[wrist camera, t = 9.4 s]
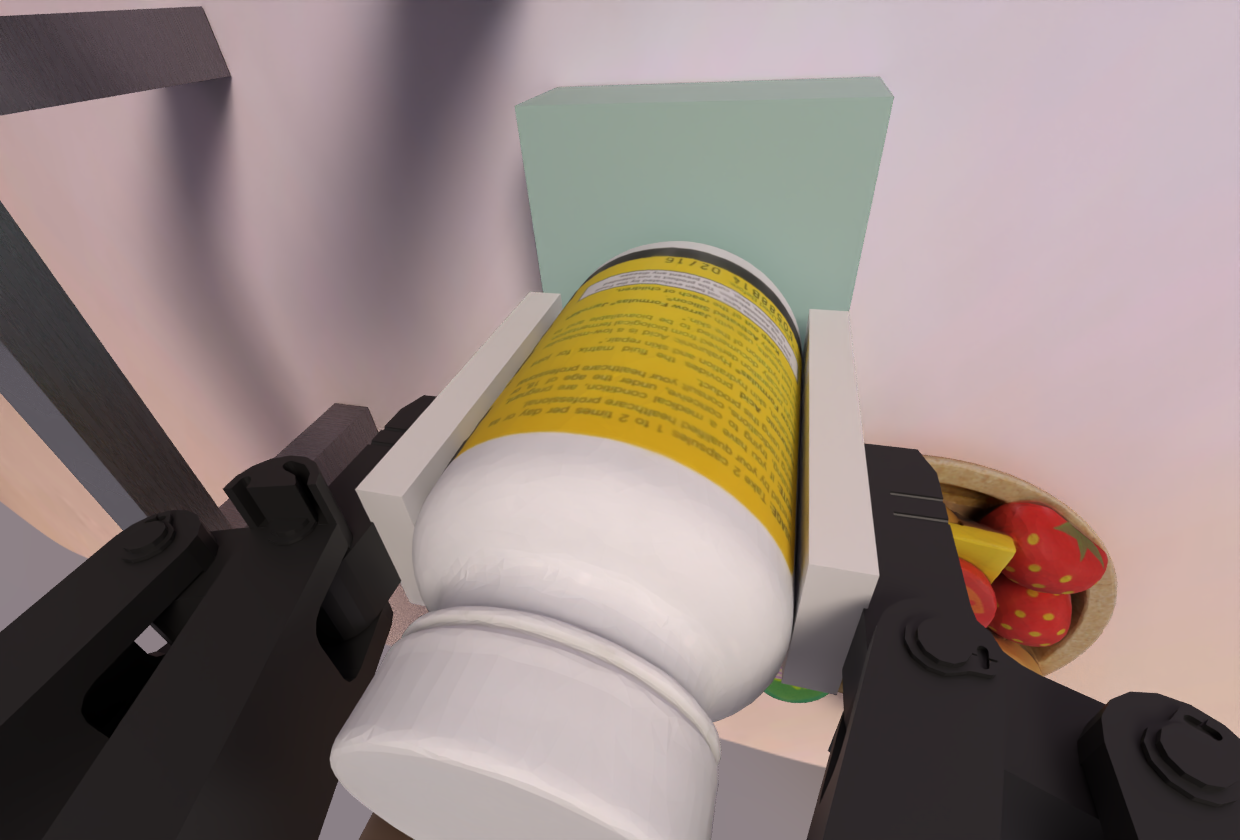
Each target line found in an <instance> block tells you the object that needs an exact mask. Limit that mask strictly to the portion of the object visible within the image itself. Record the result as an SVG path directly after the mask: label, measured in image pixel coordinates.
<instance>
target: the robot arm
mask: <svg viewBox="0 0 1240 840" xmlns="http://www.w3.org/2000/svg"><path fill="white" fill-rule="evenodd" d="M562 310H563V308H562V300H561V294H558V293H541V292H529V293H528V294H527V296H526V297H525V298H524V299H523V300H522V301H521V302H520V303H519V305H518V306H517V307H516V308H515V309H514V310H513V311H512V312H511V314H510V315H509V316H508V317H507V318H506V319H505V320H504V322H503V323H502V324H501V325H500V326H499V327H498V328H497V329H496V331H495V332H494V333H493V334H492V335H491V336H490V337H489V339H488V340H487V341H486V342H485V343H484V344H483V345H482V346H481V348H480V349H479V350H478V351H477V352H476V353H475V354H474V355H473V357H472V358H471V359H470V360H469V361H468V362H467V363H466V365H465V366H464V367H463V368H462V369H461V370H460V371H459V372H458V374H457V375H456V376H455V377H454V378H453V379H452V380H451V381H450V383H449V384H448V385H447V386H446V387H445V388H444V389H443V391H442V392H441V393H440V394H439V395H438V396H437V397H435V396H426V395H424V396H422V397H420V398H419V399H417V400H415V401H414V402H412V403H410V404H409V405H407V406H405V407H404V408H402V409H401V410H400V411H399V412H398V413H397V414H396V415H395V416H394V417H393V418H392V419H391V420H390V421H389V422H388V423H387V424H386V425H385V429H384V430H381V431H380V432H379V433H378V434H377V435H376V436H375V437H374V438H373V439H372V440H371V445H370V444H368V445H367V446H366V447H365V448H364V449H363V450H362V451H361V452H360V453H359V454H358V455H357V456H356V457H355V458H354V459H353V460H352V462H351V463H350V464H349V465H348V466H347V467H346V468H345V469H344V470H343V471H342V472H341V473H340V474H339V475H338V476H337V477H336V479H335V480H334V481H333V482H332V483H331V484H330V485H329V486H328V485H327V483H326V481H325V479H324V477H323V475H322V473H321V471H320V469H319V468H318V466H317V464H316V462H314V461H312V460H311V459H309V458H307V457H303V456H291V455H290V456H284V457H278V458H273V459H270V460H267V461H264V462H262V463H259V464H257V465H254V466H252V467H250V468H249V469H247V470H245V471H244V472H242V473H241V474H239V475H237V476H236V477H235V478H234V479H233V480H232V481H231V482H230V483H228V484H227V485H226V486H225V487H224V488H223V490H224V491H225V493H226V494H227V496H228V497H229V499H230V500H231V502H232V503H233V505H234V506H235V507H236V509H237V510H238V512H239V513H240V515H241V516H242V518H243V519H244V521H245V522H246V524H247V525H248V526H249V527H246V528H236V529H227V530H217V531H209V530H208V528H207V527H206V526H205V524H204V523H203V522H202V520H201V519H200V518H199V516H198V515H197V514H195V513H193V512H190V511H188V510H170V511H166V512H162V513H158V514H155V515H151V516H149V517H147V518H145V519H143V520H141V521H139V522H136V523H134V524H132V525H131V526H129V527H128V528H126V529H125V530H124V531H122V532H121V533H119V534H118V535H116V536H115V537H114V538H113V539H111V540H110V541H109V542H108V543H107V544H105V545H104V546H103V547H102V548H101V549H99V550H98V551H97V552H96V553H95V554H93V555H92V556H91V557H90V558H89V559H87V560H86V561H85V562H84V563H83V564H81V565H80V566H79V567H78V568H77V569H75V571H73V572H72V573H71V574H69V575H68V576H67V577H66V578H65V579H63V580H62V581H61V582H60V583H59V584H58V585H56V586H55V587H54V588H53V589H51V590H50V591H49V592H48V593H47V594H46V595H44V596H43V597H42V598H41V599H39V600H38V601H37V602H36V603H35V604H34V605H32V606H31V607H30V608H29V609H28V610H26V611H25V612H24V613H23V614H22V615H20V616H19V617H18V618H17V619H16V620H15V621H13V622H12V623H11V624H10V625H8V626H7V627H6V628H5V629H4V630H2V631H1V632H0V840H318V837H319V835H320V832H321V829H322V826H323V823H324V820H325V817H326V814H327V812H328V808H329V806H330V803H331V800H332V797H333V794H334V791H335V788H336V785H337V782H338V779H337V777H336V776H335V774H334V772H333V770H332V768H331V764H330V754H331V749H332V746H333V744H334V741H335V739H336V737H337V735H338V734H339V732H340V731H341V729H342V727H343V726H344V724H345V723H346V721H347V719H348V718H349V716H350V715H351V713H352V711H353V710H354V708H355V707H356V705H357V703H358V702H359V700H360V699H361V697H362V695H363V694H364V692H365V690H366V689H367V687H368V685H369V684H370V682H371V680H372V679H373V677H374V675H375V672H376V669H377V666H378V663H379V660H380V657H381V654H382V652H383V649H384V645H385V643H386V640H387V637H388V634H389V631H390V628H391V625H392V618H393V611H392V608H391V606H390V604H389V602H388V600H389V598H390V597H391V595H392V594H393V592H394V591H395V590H396V588H397V587H398V585H399V584H400V583H401V585H402V587H403V589H404V591H405V593H406V595H407V597H408V600H409V602H410V603H412V604H417V605H421V606H426V605H425V604H424V602H423V600H422V598H421V595H420V592H419V590H418V587H417V583H416V579H415V575H414V569H413V561H412V541H413V534H414V528H415V524H416V521H417V518H418V516H419V513H420V511H421V508H422V506H423V504H424V502H425V500H426V498H427V496H428V495H429V493H430V492H431V490H432V489H433V487H434V486H435V484H436V483H437V481H438V479H439V478H440V476H441V475H442V473H443V472H444V470H445V468H446V467H447V465H448V464H449V462H450V461H451V459H452V458H453V456H454V455H455V453H456V452H457V451H458V449H459V448H460V446H461V445H462V444H463V442H464V441H465V440H466V439H467V438H468V437H469V436H470V435H471V433H472V432H473V431H474V429H475V428H476V426H477V424H478V423H479V422H480V421H481V419H482V418H483V417H484V415H485V414H486V413H487V411H488V410H489V409H490V407H491V406H492V404H493V403H494V402H495V400H496V399H497V398H498V397H499V395H500V394H501V393H502V392H503V390H504V389H505V387H506V386H507V384H508V383H509V381H510V380H511V379H512V378H513V376H514V375H515V374H516V372H517V371H518V369H519V368H520V367H521V365H522V364H523V362H524V361H525V360H526V359H527V357H528V356H529V355H530V354H531V352H532V351H533V349H534V348H535V346H536V345H537V344H538V342H539V341H540V339H541V338H542V336H543V335H544V334H545V333H546V331H547V330H548V329H549V327H550V326H551V325H552V323H553V322H554V321H555V319H556V318H557V317H558V315H559V314H560V313H561V311H562ZM802 355H803V365H802V395H801V424H800V450H799V475H798V499H797V524H796V552H795V582H794V609H793V624H792V633H791V639H790V644H789V648H788V651H787V655H786V658H785V660H784V662H783V664H782V682H781V683H783V684H788V685H793V686H797V687H802V688H806V689H811V690H816V691H820V692H825V693H829V694H834V695H837V692H838V690H839V687H840V684H841V681H843V702H844V711H843V713H842V716H841V719H840V721H839V724H838V726H837V729H836V731H835V734H834V737H833V739H832V742H831V744H830V747H829V749H828V751H829V752H830V756H829V759H828V763H827V767H826V770H825V774H824V778H823V781H822V785H821V789H820V792H819V796H818V800H817V804H816V807H815V811H814V815H813V818H812V822H811V826H810V829H809V833H808V836H807V840H1240V739H1239V738H1238V737H1237V736H1236V735H1235V734H1234V733H1233V732H1232V731H1230V730H1229V729H1228V728H1227V727H1226V726H1225V725H1223V724H1222V723H1220V722H1218V721H1217V720H1215V719H1213V718H1212V717H1210V716H1208V715H1207V714H1205V713H1203V712H1202V711H1200V710H1198V709H1197V708H1195V707H1193V706H1192V705H1189V704H1187V703H1184V702H1181V701H1178V700H1175V699H1172V698H1169V697H1167V696H1164V695H1161V694H1158V693H1143V692H1128V693H1126V694H1123V695H1121V696H1118V697H1116V698H1113V699H1111V700H1110V701H1109V702H1108V703H1107V704H1103V703H1101V702H1099V701H1097V700H1094V699H1092V698H1090V697H1088V696H1085V695H1083V694H1081V693H1079V692H1077V691H1074V690H1072V689H1070V688H1068V687H1065V686H1063V685H1061V684H1059V683H1057V682H1054V681H1052V680H1050V679H1048V678H1045V677H1043V676H1041V675H1039V674H1038V673H1036V672H1034V671H1032V670H1030V669H1028V668H1026V667H1025V666H1023V665H1021V664H1020V663H1018V662H1017V661H1016V660H1014V659H1013V658H1011V657H1010V656H1009V655H1007V654H1006V653H1005V652H1003V651H1002V649H1001V648H1000V646H999V644H998V643H997V641H996V640H995V638H994V637H993V635H992V634H991V632H990V631H988V630H987V629H986V628H985V627H984V626H983V625H982V624H980V623H979V622H978V621H977V619H976V617H975V614H974V612H973V610H972V607H971V604H970V600H969V596H968V592H967V588H966V584H965V581H964V577H963V573H962V569H961V565H960V561H959V557H958V553H957V549H956V545H955V541H954V538H953V534H952V530H951V526H950V524H948V520H949V518H948V514H947V510H946V506H945V503H943V495H942V491H941V487H940V483H939V479H938V475H937V472H936V471H935V470H934V469H933V468H932V466H931V465H930V464H929V463H928V462H927V460H926V459H925V458H924V457H923V456H922V455H921V453H920V452H919V451H918V450H916V449H908V448H899V447H890V446H881V445H873V444H864V438H863V430H862V421H861V412H860V404H859V395H858V387H857V378H856V369H855V361H854V352H853V343H852V335H851V326H850V317H849V311H836V310H820V309H809V315H808V321H807V327H806V333H805V340H804V346H803V352H802ZM149 625H151V626H152V627H153V628H154V629H155V630H156V631H157V632H158V633H159V634H160V635H161V636H162V637H163V638H164V639H165V640H166V641H167V642H168V643H167V644H166V645H165V646H163V647H162V648H160V649H159V650H158V651H157V652H153V653H149V654H147V653H146V652H145V651H144V650H143V649H142V648H141V647H140V646H138V645H137V644H136V643H135V642H134V640H135V639H136V638H137V637H138V636H139V635H140V634H141V633H142V632H143V631H144V630H145V629H146V628H147V627H148V626H149Z"/></svg>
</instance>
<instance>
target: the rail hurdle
mask: <svg viewBox="0 0 1240 840" xmlns="http://www.w3.org/2000/svg"><path fill="white" fill-rule="evenodd" d="M228 76H230V74H229V71H228V69H227V66H226V64H225V62H224V59H223V57H222V54H221V52H220V49H219V47H218V45H217V42H216V40H215V37H214V35H213V32H212V30H211V28H210V25H209V23H208V20H207V18H206V16H205V13H204V11H203V8H202V6H200V7H179V8H159V9H138V10H118V11H97V12H76V13H56V14H35V15H15V16H0V115H6V114H12V113H18V112H24V111H29V110H35V109H41V108H47V107H53V106H59V105H65V104H70V103H76V102H82V101H88V100H94V99H100V98H105V97H111V96H117V95H123V94H129V93H135V92H140V91H146V90H152V89H158V88H164V87H170V86H175V85H181V84H187V83H193V82H199V81H205V80H210V79H216V78H222V77H228ZM0 393H1V394H2V395H3V396H4V397H5V399H6V400H7V401H8V402H9V403H10V404H11V405H12V406H13V408H14V409H15V410H16V411H17V412H18V413H19V414H20V415H21V417H22V418H23V419H24V420H25V421H26V422H27V423H28V424H29V425H30V427H31V428H32V429H33V430H34V431H35V432H36V433H37V434H38V436H39V437H40V438H41V439H42V440H43V441H44V442H45V443H46V445H47V446H48V447H49V448H50V449H51V450H52V451H53V452H54V454H55V455H56V456H57V457H58V458H59V459H60V460H61V461H62V462H63V464H64V465H65V466H66V467H67V468H68V469H69V470H70V471H71V473H72V474H73V475H74V476H75V477H76V478H77V479H78V480H79V482H80V483H81V484H82V485H83V486H84V487H85V488H86V489H87V491H88V492H89V493H90V494H91V495H92V496H93V497H94V498H95V500H96V501H97V502H98V503H99V504H100V505H101V506H102V507H103V508H104V510H105V511H106V512H107V513H108V514H109V515H110V516H111V517H112V519H113V520H114V521H115V522H116V523H117V524H118V525H119V526H120V528H121V529H122V530H123V531H124V530H125V529H126V528H128V527H129V526H131V525H132V524H134V523H136V522H139V521H141V520H143V519H145V518H147V517H149V516H151V515H155V514H158V513H162V512H166V511H170V510H188V511H190V512H193V513H195V514H197V515H198V516H199V518H200V519H201V520H202V522H203V523H204V524H205V526H206V527H207V528H208V530H209V531H217V530H227V529H236V528H246V527H249V526H248V525H247V524H246V522H245V521H244V519H243V518H242V516H241V515H240V513H239V512H238V510H237V509H236V507H235V506H234V505H233V503H232V502H231V500H230V499H228V500H227V501H226V502H225V503H223V504H222V505H221V506H220V507H219V508H218V506H217V505H216V503H215V502H214V501H213V499H212V498H211V496H210V495H209V494H208V492H207V491H206V489H205V488H204V487H203V485H202V484H201V482H200V481H199V480H198V478H197V477H196V475H195V474H194V473H193V471H192V470H191V468H190V467H189V466H188V464H187V463H186V461H185V460H184V458H183V457H182V456H181V454H180V453H179V451H178V450H177V449H176V447H175V446H174V444H173V443H172V442H171V440H170V439H169V437H168V436H167V435H166V433H165V432H164V430H163V429H162V428H161V426H160V425H159V423H158V422H157V421H156V419H155V418H154V416H153V415H152V413H151V412H150V411H149V409H148V408H147V406H146V405H145V404H144V402H143V401H142V399H141V398H140V397H139V395H138V394H137V392H136V391H135V390H134V388H133V387H132V385H131V384H130V383H129V381H128V380H127V378H126V377H125V376H124V374H123V373H122V371H121V370H120V368H119V367H118V366H117V364H116V363H115V361H114V360H113V359H112V357H111V356H110V354H109V353H108V352H107V350H106V349H105V347H104V346H103V345H102V343H101V342H100V340H99V339H98V338H97V336H96V335H95V333H94V332H93V330H92V329H91V328H90V326H89V325H88V323H87V322H86V321H85V319H84V318H83V316H82V315H81V314H80V312H79V311H78V309H77V308H76V307H75V305H74V304H73V302H72V301H71V300H70V298H69V297H68V295H67V294H66V293H65V291H64V290H63V288H62V287H61V285H60V284H59V283H58V281H57V280H56V278H55V277H54V276H53V274H52V273H51V271H50V270H49V269H48V267H47V266H46V264H45V263H44V262H43V260H42V259H41V257H40V256H39V255H38V253H37V252H36V250H35V249H34V248H33V246H32V245H31V243H30V242H29V240H28V239H27V238H26V236H25V235H24V233H23V232H22V231H21V229H20V228H19V226H18V225H17V224H16V222H15V221H14V219H13V218H12V217H11V215H10V214H9V212H8V211H7V210H6V208H5V207H4V205H3V204H2V203H1V201H0ZM377 434H378V432H377V429H376V427H375V424H374V422H373V419H372V417H371V415H370V412H369V410H368V407H360V406H352V405H344V404H336V403H335V404H334V405H332V406H331V407H330V408H329V409H328V410H327V411H326V412H325V413H324V414H322V415H321V416H320V417H319V418H318V419H317V420H316V421H315V422H314V423H312V424H311V425H310V426H309V427H308V428H307V429H306V430H305V431H304V432H302V433H301V434H300V435H299V436H298V437H297V438H296V439H295V440H294V441H292V442H291V443H290V444H289V445H288V446H287V447H286V448H285V449H284V450H282V451H281V452H280V453H279V454H278V455H277V456H276V457H275V458H278V457H284V456H290V455H291V456H303V457H307V458H309V459H311V460H312V461H314V462H316V464H317V466H318V468H319V469H320V471H321V473H322V475H323V477H324V479H325V481H326V483H327V485H328V486H329V485H330V484H331V483H332V482H333V481H334V480H335V479H336V477H337V476H338V475H339V474H340V473H341V472H342V471H343V470H344V469H345V468H346V467H347V466H348V465H349V464H350V463H351V462H352V460H353V459H354V458H355V457H356V456H357V455H358V454H359V453H360V452H361V451H362V450H363V449H364V448H365V447H366V446H367V445H368V444H370V445H371V440H372V439H373V438H374V437H375V436H376V435H377Z"/></svg>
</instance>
